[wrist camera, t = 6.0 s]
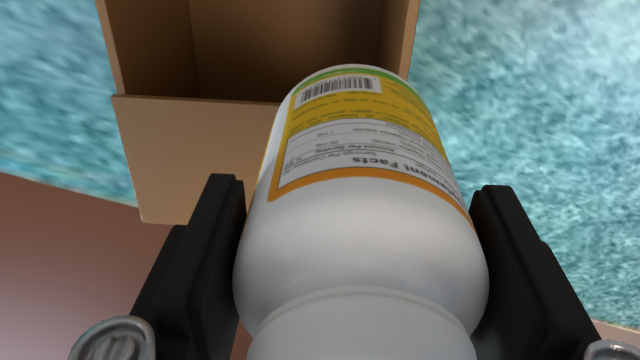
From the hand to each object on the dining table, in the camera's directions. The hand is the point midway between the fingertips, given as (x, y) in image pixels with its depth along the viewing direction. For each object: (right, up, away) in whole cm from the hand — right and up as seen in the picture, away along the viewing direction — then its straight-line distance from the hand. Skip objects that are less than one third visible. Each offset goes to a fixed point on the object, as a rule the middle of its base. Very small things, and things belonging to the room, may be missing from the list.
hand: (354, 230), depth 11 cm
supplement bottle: (0, +3, +4) cm, 5 cm away
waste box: (-4, +13, +22) cm, 25 cm away
